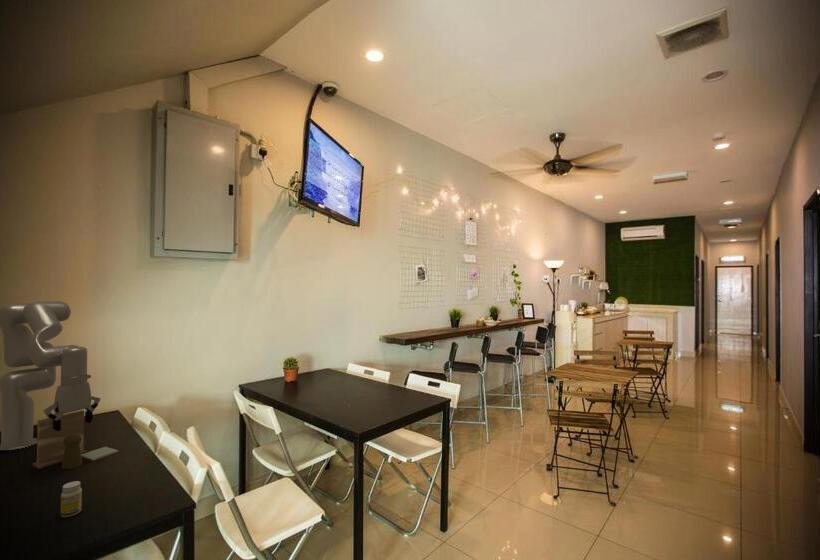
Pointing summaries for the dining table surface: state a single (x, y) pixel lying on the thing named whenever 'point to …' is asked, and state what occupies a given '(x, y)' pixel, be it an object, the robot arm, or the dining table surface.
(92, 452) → the coaster
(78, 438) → the cork
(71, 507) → the supplement bottle
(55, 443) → the wooden board
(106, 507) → the dining table surface
